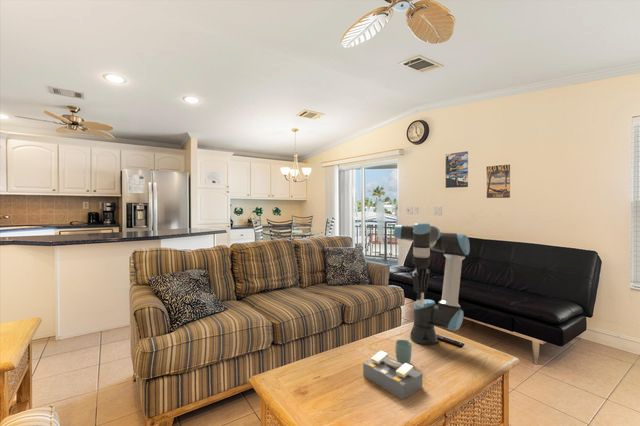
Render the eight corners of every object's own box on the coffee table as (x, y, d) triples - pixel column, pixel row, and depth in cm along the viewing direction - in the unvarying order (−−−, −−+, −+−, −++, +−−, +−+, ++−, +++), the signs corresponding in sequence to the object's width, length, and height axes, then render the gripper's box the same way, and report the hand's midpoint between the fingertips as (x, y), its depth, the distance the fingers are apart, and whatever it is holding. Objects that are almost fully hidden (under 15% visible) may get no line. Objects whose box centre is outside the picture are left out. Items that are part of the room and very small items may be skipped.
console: (382, 366, 151) (383, 351, 151) (422, 387, 134) (422, 370, 134) (363, 375, 143) (363, 360, 142) (402, 399, 125) (402, 382, 125)
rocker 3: (405, 365, 136) (405, 362, 136) (413, 369, 133) (413, 366, 133) (396, 373, 132) (395, 370, 132) (403, 377, 129) (403, 374, 129)
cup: (411, 367, 151) (412, 347, 150) (395, 365, 152) (396, 345, 152) (410, 359, 158) (410, 340, 158) (395, 357, 160) (395, 338, 159)
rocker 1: (381, 352, 147) (380, 350, 147) (387, 356, 144) (387, 353, 144) (371, 360, 143) (371, 358, 143) (378, 364, 140) (377, 361, 140)
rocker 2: (393, 363, 142) (394, 360, 142) (400, 367, 139) (401, 364, 139) (384, 361, 138) (385, 358, 138) (391, 365, 135) (392, 361, 135)
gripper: (422, 253, 150) (421, 301, 151) (406, 256, 142) (405, 306, 143) (436, 255, 144) (435, 305, 145) (420, 258, 136) (419, 311, 137)
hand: (420, 306), depth 144 cm, fingers closed
